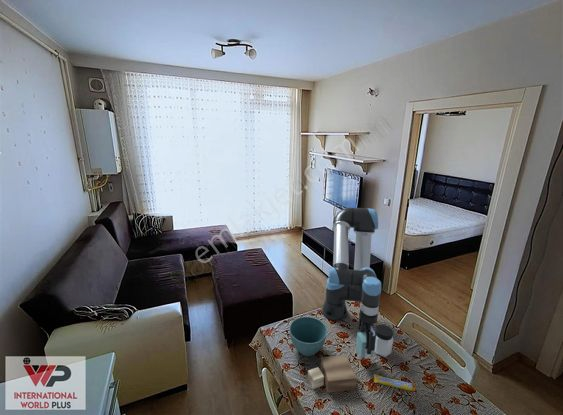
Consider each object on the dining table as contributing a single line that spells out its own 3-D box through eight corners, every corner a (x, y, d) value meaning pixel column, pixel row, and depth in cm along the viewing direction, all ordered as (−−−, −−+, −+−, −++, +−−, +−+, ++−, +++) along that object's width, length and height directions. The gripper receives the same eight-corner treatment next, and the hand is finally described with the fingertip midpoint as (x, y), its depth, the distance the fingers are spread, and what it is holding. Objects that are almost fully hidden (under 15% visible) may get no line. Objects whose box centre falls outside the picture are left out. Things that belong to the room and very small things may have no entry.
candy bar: (414, 384, 112) (414, 381, 111) (416, 393, 108) (416, 390, 107) (373, 375, 116) (373, 372, 115) (373, 384, 112) (374, 380, 111)
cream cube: (307, 379, 114) (308, 370, 112) (317, 375, 115) (318, 366, 114) (313, 389, 109) (313, 380, 108) (323, 385, 111) (324, 376, 109)
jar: (383, 359, 124) (385, 339, 120) (369, 348, 130) (371, 328, 127) (394, 351, 128) (397, 331, 125) (380, 340, 135) (382, 321, 132)
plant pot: (283, 356, 125) (283, 335, 122) (297, 331, 141) (298, 312, 138) (318, 370, 118) (320, 348, 114) (330, 343, 133) (331, 323, 130)
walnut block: (320, 367, 119) (321, 357, 118) (345, 365, 120) (346, 354, 119) (327, 392, 108) (328, 381, 106) (355, 389, 109) (356, 378, 107)
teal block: (355, 347, 124) (357, 332, 122) (367, 346, 125) (369, 331, 122) (360, 358, 119) (362, 342, 116) (373, 357, 119) (375, 341, 116)
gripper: (353, 297, 123) (349, 336, 130) (370, 327, 105) (364, 370, 112) (368, 296, 124) (363, 335, 131) (387, 325, 106) (381, 368, 113)
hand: (364, 351), depth 122 cm, fingers closed on teal block, 6 cm apart
